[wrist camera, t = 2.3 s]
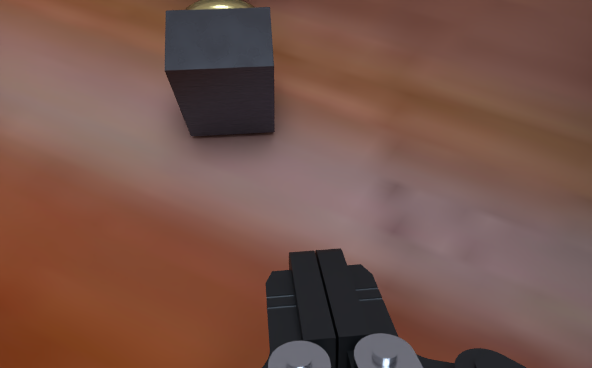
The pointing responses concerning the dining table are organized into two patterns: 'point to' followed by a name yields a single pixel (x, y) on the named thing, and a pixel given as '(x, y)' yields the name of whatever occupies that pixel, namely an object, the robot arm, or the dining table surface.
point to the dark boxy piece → (221, 66)
